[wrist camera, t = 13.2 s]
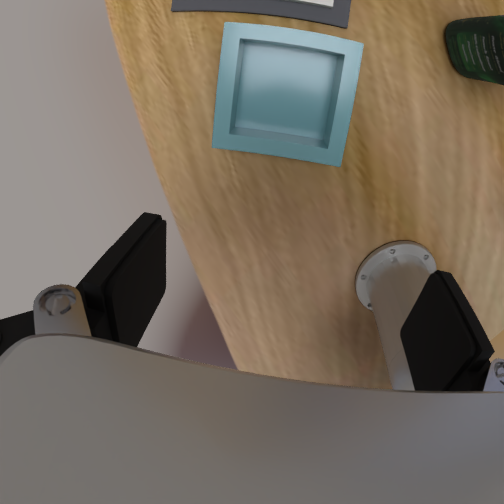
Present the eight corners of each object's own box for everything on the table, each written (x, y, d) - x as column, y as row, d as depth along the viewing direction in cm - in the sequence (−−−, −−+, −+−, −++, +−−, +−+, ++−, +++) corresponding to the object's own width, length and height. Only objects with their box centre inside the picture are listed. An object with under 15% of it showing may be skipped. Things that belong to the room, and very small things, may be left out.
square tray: (352, 46, 28) (363, 43, 23) (333, 154, 35) (340, 167, 30) (232, 28, 28) (224, 21, 24) (220, 137, 35) (211, 147, 31)
